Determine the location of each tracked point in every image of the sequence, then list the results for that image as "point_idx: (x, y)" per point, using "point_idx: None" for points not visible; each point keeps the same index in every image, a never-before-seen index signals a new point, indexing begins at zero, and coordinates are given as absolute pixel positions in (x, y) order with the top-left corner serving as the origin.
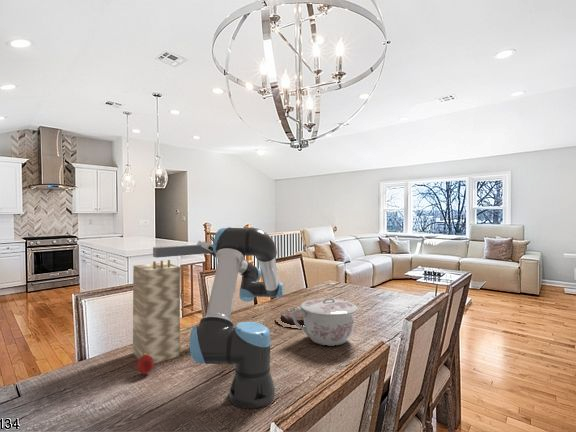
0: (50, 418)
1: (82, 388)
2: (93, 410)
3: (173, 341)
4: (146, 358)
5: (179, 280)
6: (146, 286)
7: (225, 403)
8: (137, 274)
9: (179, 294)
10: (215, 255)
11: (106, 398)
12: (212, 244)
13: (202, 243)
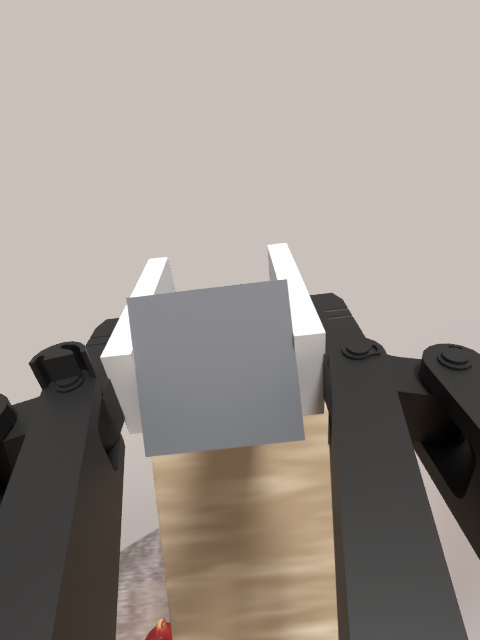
0: (158, 540)
1: None
2: (123, 578)
3: None
4: (150, 632)
5: (155, 486)
6: None
7: None
8: None
9: (163, 559)
10: (339, 622)
11: (140, 596)
12: (166, 294)
13: (171, 283)
